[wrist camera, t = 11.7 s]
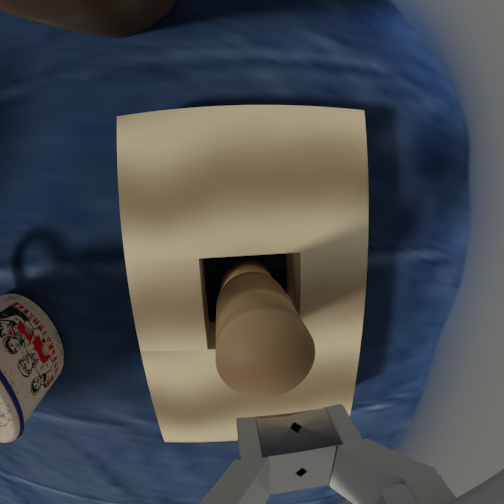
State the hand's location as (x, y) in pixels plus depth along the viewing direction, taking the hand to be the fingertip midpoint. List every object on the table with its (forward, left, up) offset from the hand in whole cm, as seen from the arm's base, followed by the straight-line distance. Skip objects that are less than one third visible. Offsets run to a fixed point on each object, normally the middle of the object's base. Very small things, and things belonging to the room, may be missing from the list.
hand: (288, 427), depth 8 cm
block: (0, 0, -14) cm, 14 cm away
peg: (0, 0, -14) cm, 14 cm away
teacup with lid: (+3, -20, -14) cm, 25 cm away
